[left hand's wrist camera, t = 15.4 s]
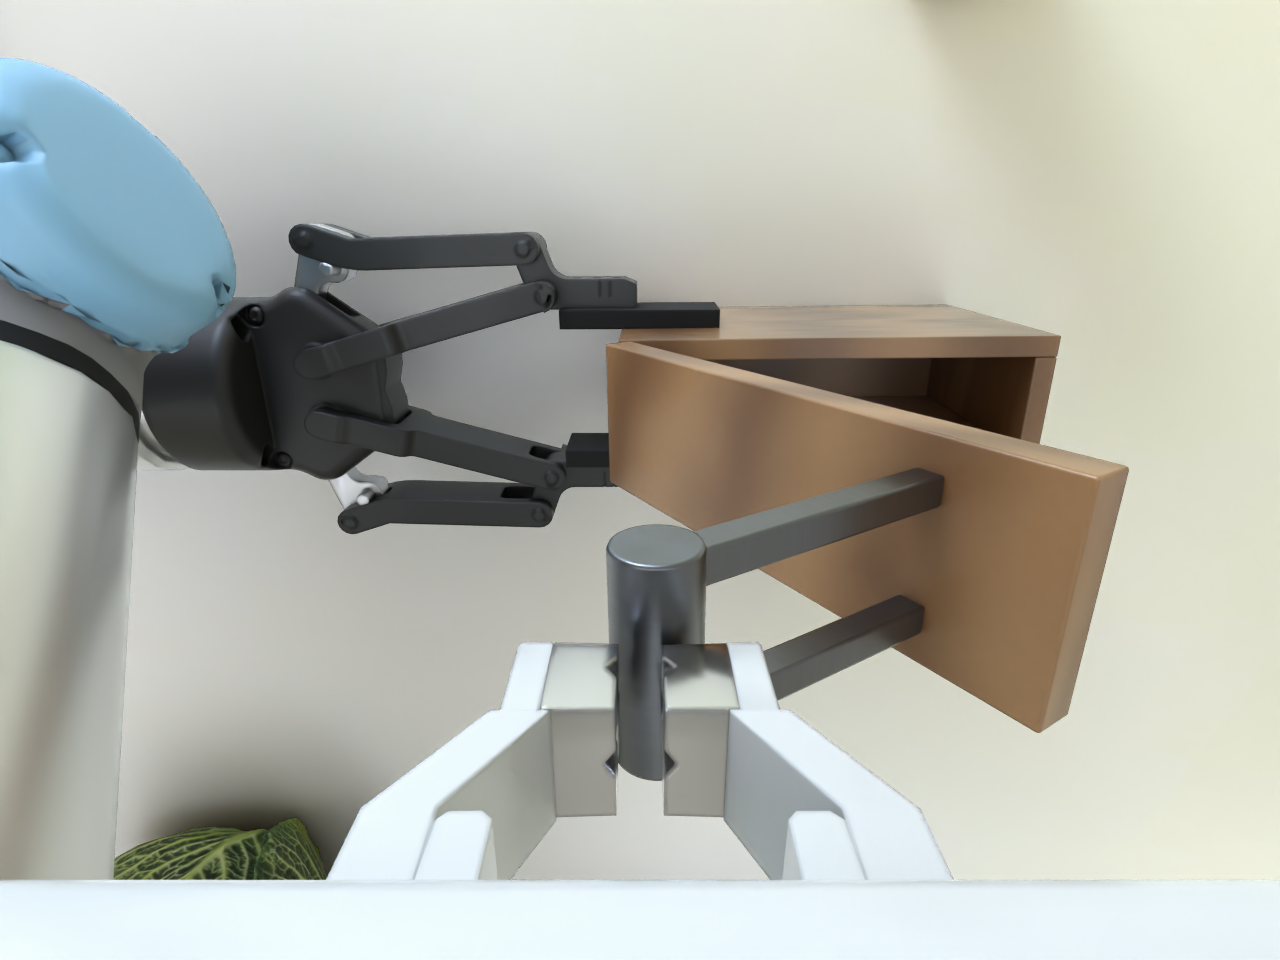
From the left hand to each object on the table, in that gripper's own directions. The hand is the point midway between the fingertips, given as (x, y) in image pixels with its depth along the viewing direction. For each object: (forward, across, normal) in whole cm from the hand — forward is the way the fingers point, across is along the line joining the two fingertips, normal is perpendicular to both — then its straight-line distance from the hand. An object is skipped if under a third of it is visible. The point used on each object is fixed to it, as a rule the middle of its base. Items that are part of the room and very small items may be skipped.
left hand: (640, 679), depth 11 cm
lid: (+9, +4, 0) cm, 10 cm away
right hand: (+21, +3, 0) cm, 21 cm away
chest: (+27, +8, 0) cm, 28 cm away
